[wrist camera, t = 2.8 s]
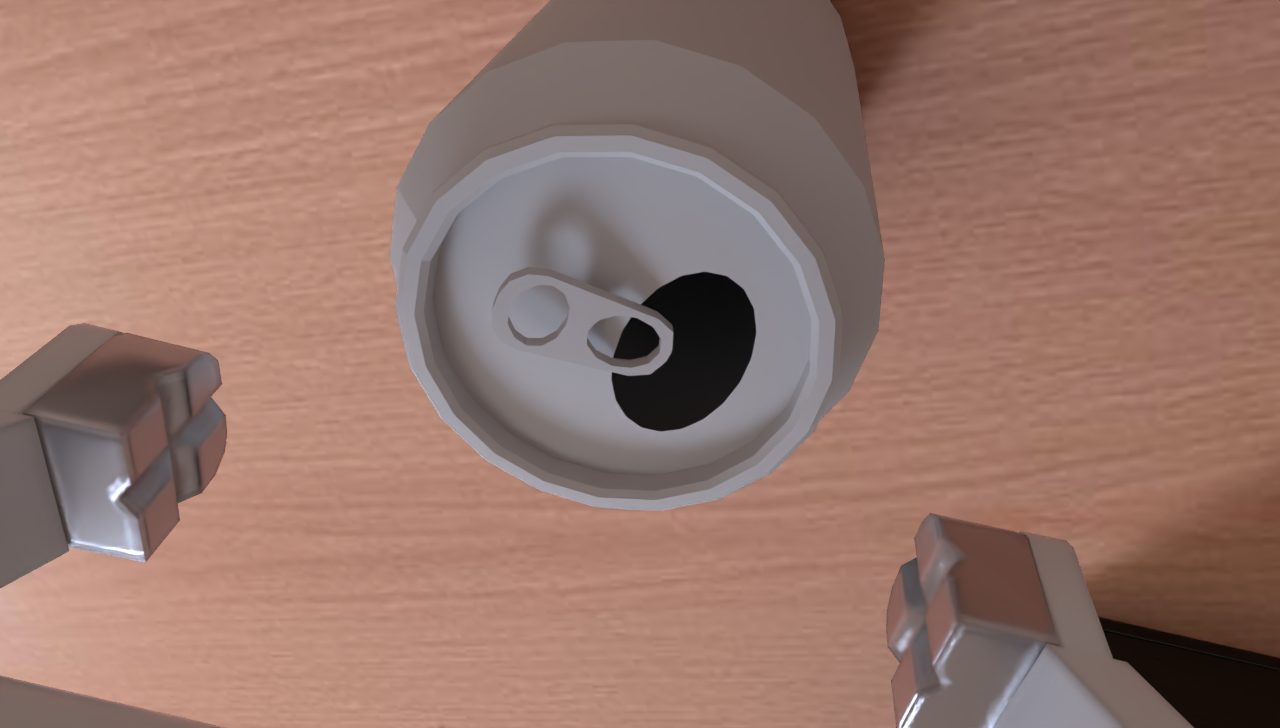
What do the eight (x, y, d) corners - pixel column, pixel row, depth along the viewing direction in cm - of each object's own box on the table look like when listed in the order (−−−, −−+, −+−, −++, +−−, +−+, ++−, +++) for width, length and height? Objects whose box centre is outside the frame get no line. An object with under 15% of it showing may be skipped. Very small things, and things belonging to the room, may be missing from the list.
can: (761, 271, 25) (733, 615, 15) (504, 152, 24) (297, 435, 14) (916, 7, 21) (1018, 247, 11) (611, -148, 20) (424, -40, 10)
